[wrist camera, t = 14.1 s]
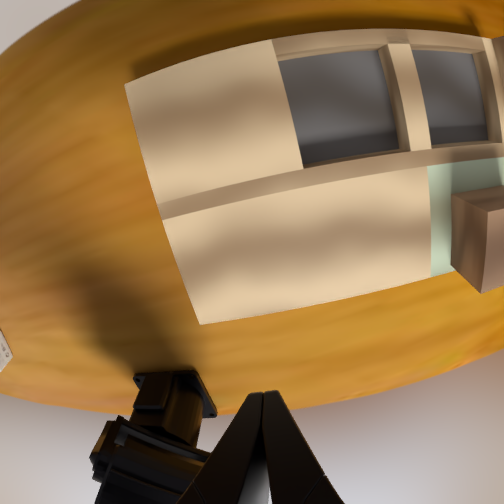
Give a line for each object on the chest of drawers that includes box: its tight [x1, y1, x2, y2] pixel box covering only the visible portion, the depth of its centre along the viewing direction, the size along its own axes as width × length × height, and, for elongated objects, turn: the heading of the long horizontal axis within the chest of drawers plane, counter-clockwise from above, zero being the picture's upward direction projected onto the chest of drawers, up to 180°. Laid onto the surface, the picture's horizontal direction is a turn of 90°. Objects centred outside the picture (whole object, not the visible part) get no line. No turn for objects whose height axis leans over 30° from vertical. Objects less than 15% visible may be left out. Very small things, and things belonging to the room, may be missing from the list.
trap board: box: [124, 29, 504, 325], centre depth 16 cm, size 16×25×4 cm, turn 104°
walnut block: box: [450, 185, 504, 294], centre depth 14 cm, size 5×5×4 cm
